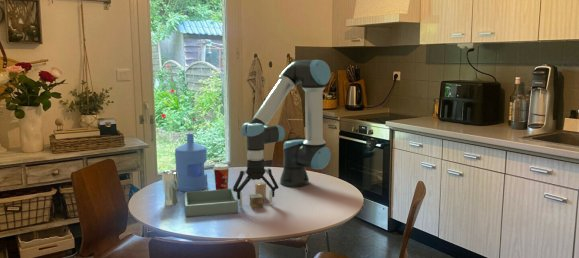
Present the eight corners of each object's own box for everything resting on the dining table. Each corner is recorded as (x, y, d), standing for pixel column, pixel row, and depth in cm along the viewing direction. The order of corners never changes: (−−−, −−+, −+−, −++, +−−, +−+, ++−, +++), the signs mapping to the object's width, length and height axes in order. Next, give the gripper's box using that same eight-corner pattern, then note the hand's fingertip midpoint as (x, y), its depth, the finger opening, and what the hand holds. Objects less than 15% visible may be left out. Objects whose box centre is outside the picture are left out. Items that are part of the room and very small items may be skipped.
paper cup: (226, 195, 215) (226, 167, 213) (211, 194, 217) (210, 166, 214) (232, 191, 223) (231, 163, 220) (217, 190, 224) (216, 163, 222)
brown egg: (264, 196, 214) (264, 182, 213) (266, 199, 209) (266, 185, 208) (254, 197, 213) (254, 183, 212) (256, 200, 208) (256, 185, 207)
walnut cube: (260, 204, 203) (260, 193, 202) (262, 208, 198) (262, 197, 197) (249, 205, 201) (249, 194, 201) (251, 208, 197) (251, 198, 196)
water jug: (170, 190, 223) (167, 135, 219) (188, 182, 238) (186, 131, 233) (196, 194, 218) (194, 137, 213) (213, 185, 232) (211, 132, 228)
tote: (232, 198, 210) (232, 188, 210) (238, 212, 191) (238, 201, 191) (184, 202, 205) (184, 192, 204) (185, 217, 186) (185, 205, 185)
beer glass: (182, 202, 205) (180, 170, 203) (173, 207, 199) (172, 174, 197) (169, 200, 208) (167, 169, 205) (160, 205, 201) (158, 173, 199)
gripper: (281, 155, 203) (281, 200, 206) (226, 158, 197) (227, 204, 200) (285, 159, 196) (284, 205, 199) (228, 162, 190) (228, 209, 193)
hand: (255, 205), depth 199 cm, fingers open, 13 cm apart
